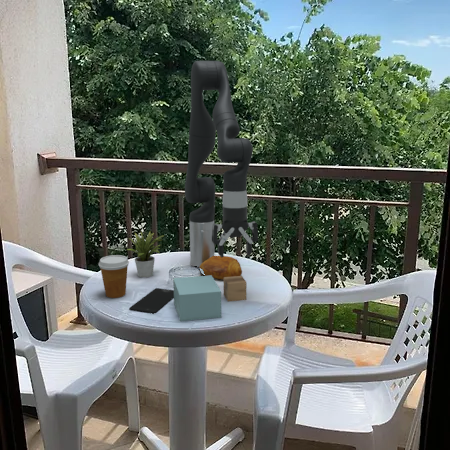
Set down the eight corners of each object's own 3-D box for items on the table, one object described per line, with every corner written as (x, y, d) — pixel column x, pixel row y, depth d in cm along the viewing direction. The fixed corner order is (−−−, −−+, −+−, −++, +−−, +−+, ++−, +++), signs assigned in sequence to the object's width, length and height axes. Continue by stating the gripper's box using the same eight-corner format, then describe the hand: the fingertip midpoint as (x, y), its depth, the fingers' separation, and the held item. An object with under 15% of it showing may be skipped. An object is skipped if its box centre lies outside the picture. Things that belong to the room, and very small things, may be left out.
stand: (173, 302, 158) (173, 278, 156) (211, 299, 160) (211, 275, 158) (180, 321, 145) (179, 295, 143) (221, 317, 147) (221, 291, 145)
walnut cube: (223, 294, 164) (223, 277, 163) (241, 293, 166) (241, 275, 164) (227, 301, 159) (227, 283, 157) (246, 300, 160) (246, 282, 158)
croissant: (229, 290, 174) (231, 269, 171) (192, 276, 181) (194, 255, 179) (249, 276, 186) (252, 256, 183) (214, 264, 193) (216, 244, 191)
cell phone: (180, 293, 166) (180, 291, 166) (154, 315, 150) (154, 312, 149) (156, 290, 169) (156, 287, 169) (128, 311, 153) (128, 308, 152)
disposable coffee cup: (101, 301, 159) (98, 265, 156) (100, 290, 168) (97, 256, 165) (132, 298, 161) (130, 262, 158) (129, 287, 170) (127, 253, 167)
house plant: (162, 283, 174) (161, 237, 170) (122, 283, 174) (120, 237, 170) (168, 269, 188) (167, 227, 184) (131, 269, 188) (128, 226, 184)
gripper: (253, 201, 160) (253, 250, 164) (209, 203, 157) (210, 253, 161) (260, 205, 153) (260, 257, 157) (214, 208, 150) (215, 260, 153)
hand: (234, 255), depth 159 cm, fingers open, 8 cm apart
